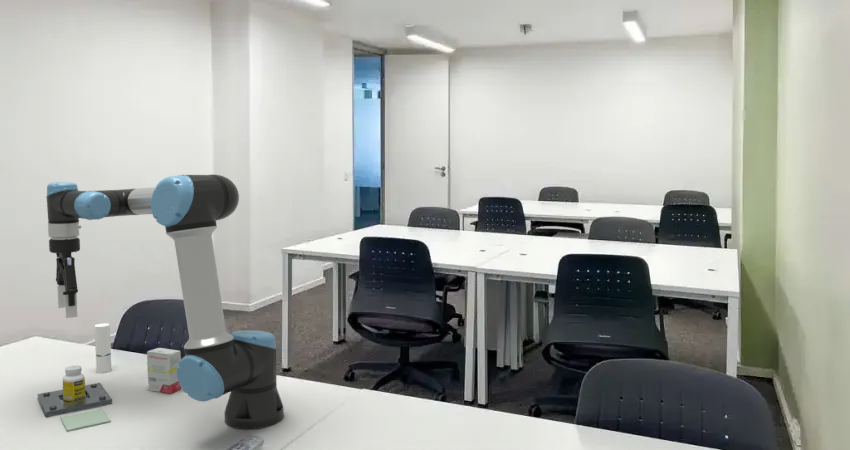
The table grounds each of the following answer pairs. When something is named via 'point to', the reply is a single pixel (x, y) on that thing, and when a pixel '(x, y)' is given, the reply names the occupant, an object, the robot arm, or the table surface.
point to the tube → (103, 348)
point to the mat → (85, 419)
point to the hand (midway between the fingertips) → (67, 312)
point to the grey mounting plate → (55, 407)
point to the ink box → (163, 370)
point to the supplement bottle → (73, 384)
